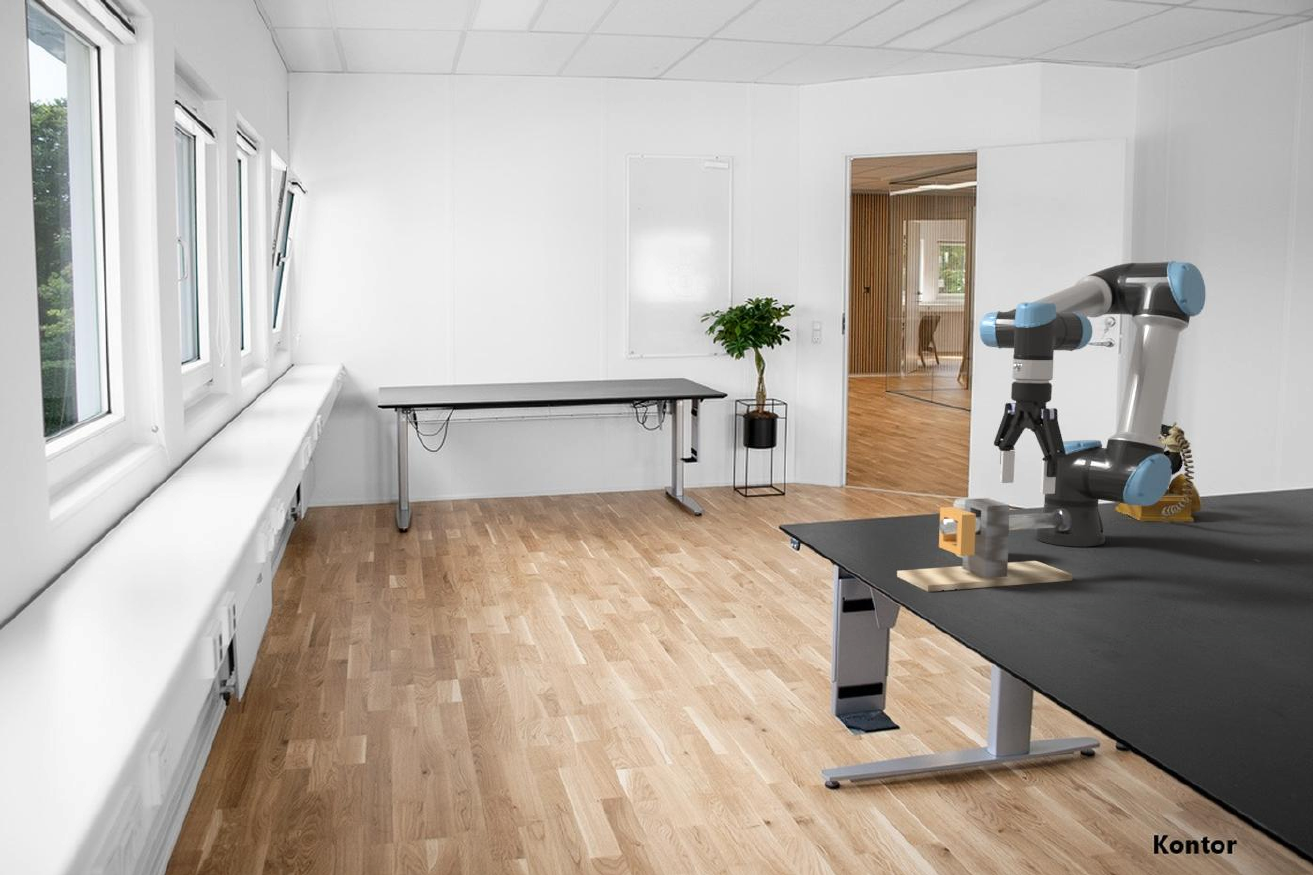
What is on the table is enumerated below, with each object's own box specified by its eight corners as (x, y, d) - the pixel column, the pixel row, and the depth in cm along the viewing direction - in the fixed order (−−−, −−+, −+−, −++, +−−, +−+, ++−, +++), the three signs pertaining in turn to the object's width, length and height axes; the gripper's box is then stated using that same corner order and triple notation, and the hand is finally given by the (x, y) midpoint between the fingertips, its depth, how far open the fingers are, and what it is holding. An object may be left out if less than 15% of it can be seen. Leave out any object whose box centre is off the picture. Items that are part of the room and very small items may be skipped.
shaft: (1057, 527, 227) (1058, 506, 226) (1071, 532, 223) (1072, 510, 222) (937, 535, 219) (938, 513, 219) (949, 540, 215) (950, 517, 215)
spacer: (952, 546, 223) (953, 506, 222) (974, 554, 215) (975, 514, 214) (938, 547, 222) (940, 507, 221) (960, 555, 214) (962, 515, 213)
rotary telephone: (1239, 534, 263) (1246, 429, 260) (1164, 534, 264) (1170, 429, 260) (1173, 507, 298) (1179, 414, 295) (1107, 506, 299) (1112, 414, 296)
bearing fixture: (1035, 566, 231) (1038, 493, 229) (1072, 580, 220) (1076, 503, 218) (897, 576, 222) (899, 500, 220) (927, 591, 211) (930, 511, 209)
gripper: (979, 377, 229) (975, 479, 232) (1055, 385, 206) (1048, 499, 208) (1011, 377, 231) (1006, 477, 234) (1089, 385, 208) (1083, 497, 210)
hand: (1026, 488), depth 221 cm, fingers open, 13 cm apart
